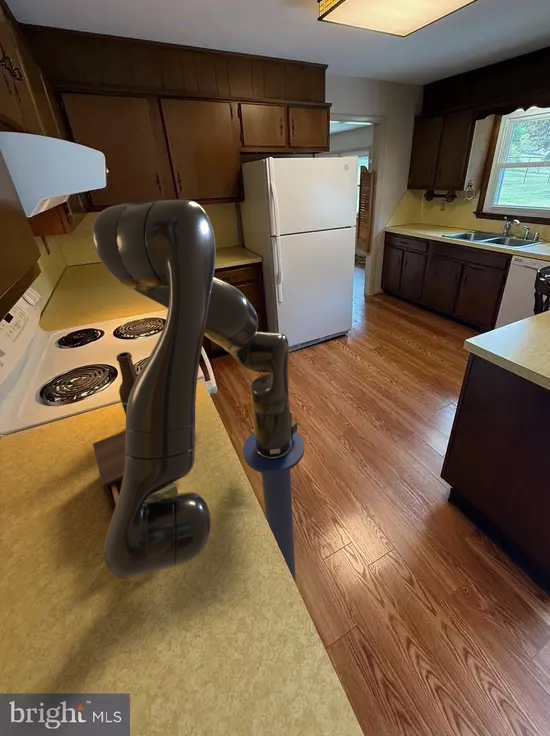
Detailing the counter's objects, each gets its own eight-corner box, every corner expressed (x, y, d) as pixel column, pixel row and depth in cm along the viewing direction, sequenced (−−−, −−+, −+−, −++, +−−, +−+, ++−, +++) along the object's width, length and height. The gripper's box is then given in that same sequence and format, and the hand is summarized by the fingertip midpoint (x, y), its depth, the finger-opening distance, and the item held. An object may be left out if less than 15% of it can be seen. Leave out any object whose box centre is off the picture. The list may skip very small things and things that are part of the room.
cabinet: (174, 486, 77) (166, 456, 73) (114, 516, 70) (102, 485, 66) (157, 449, 87) (149, 421, 83) (104, 472, 81) (92, 443, 77)
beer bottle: (140, 439, 91) (117, 364, 81) (123, 429, 95) (100, 357, 84) (164, 423, 97) (145, 351, 87) (147, 414, 101) (128, 345, 90)
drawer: (191, 529, 66) (184, 503, 63) (130, 565, 60) (119, 538, 57) (164, 471, 80) (157, 447, 76) (112, 496, 74) (103, 471, 70)
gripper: (188, 475, 54) (178, 479, 68) (97, 521, 47) (107, 514, 61) (205, 521, 52) (191, 514, 67) (114, 575, 45) (120, 555, 60)
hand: (151, 514), depth 64 cm, fingers closed
